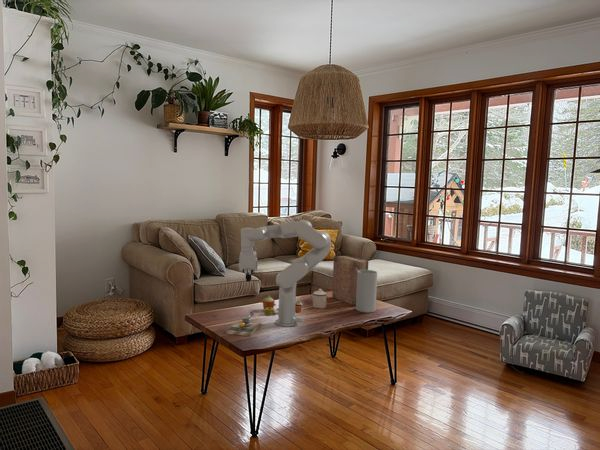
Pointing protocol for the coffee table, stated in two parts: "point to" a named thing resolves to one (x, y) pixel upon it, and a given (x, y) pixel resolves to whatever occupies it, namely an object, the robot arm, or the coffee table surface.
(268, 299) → the toy tea set
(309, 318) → the coffee table surface
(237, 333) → the stand
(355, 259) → the book
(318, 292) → the teacup with lid
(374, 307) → the cylinder vase
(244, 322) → the ball-knob lever handle
